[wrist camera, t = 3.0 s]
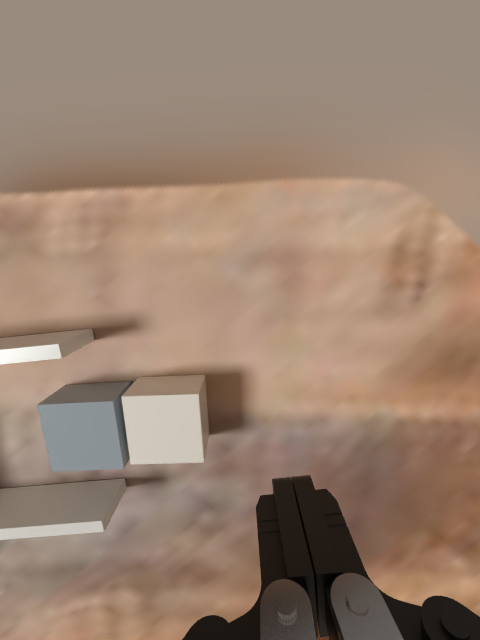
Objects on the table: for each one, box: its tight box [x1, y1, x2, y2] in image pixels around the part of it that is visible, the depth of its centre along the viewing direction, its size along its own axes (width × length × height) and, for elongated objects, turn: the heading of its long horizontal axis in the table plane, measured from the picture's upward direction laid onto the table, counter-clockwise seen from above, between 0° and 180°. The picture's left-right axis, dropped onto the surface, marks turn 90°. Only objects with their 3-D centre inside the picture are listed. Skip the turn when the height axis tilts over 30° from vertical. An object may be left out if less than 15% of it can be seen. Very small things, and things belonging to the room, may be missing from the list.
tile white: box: [121, 375, 209, 464], centre depth 19 cm, size 4×4×3 cm
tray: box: [0, 329, 127, 540], centre depth 18 cm, size 13×12×4 cm
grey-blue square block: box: [37, 381, 132, 472], centre depth 19 cm, size 4×4×3 cm
